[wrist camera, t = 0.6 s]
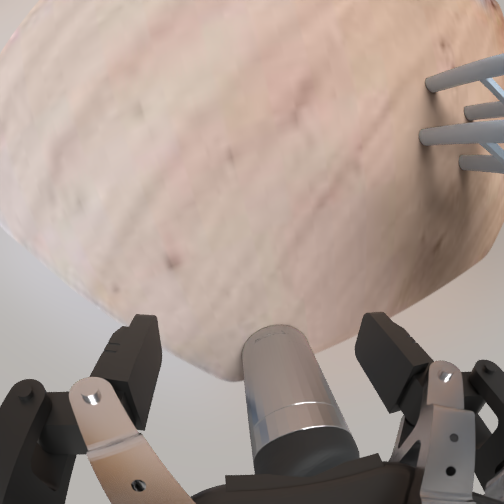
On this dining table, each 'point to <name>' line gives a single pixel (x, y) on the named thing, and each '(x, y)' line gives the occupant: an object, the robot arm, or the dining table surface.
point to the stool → (473, 115)
